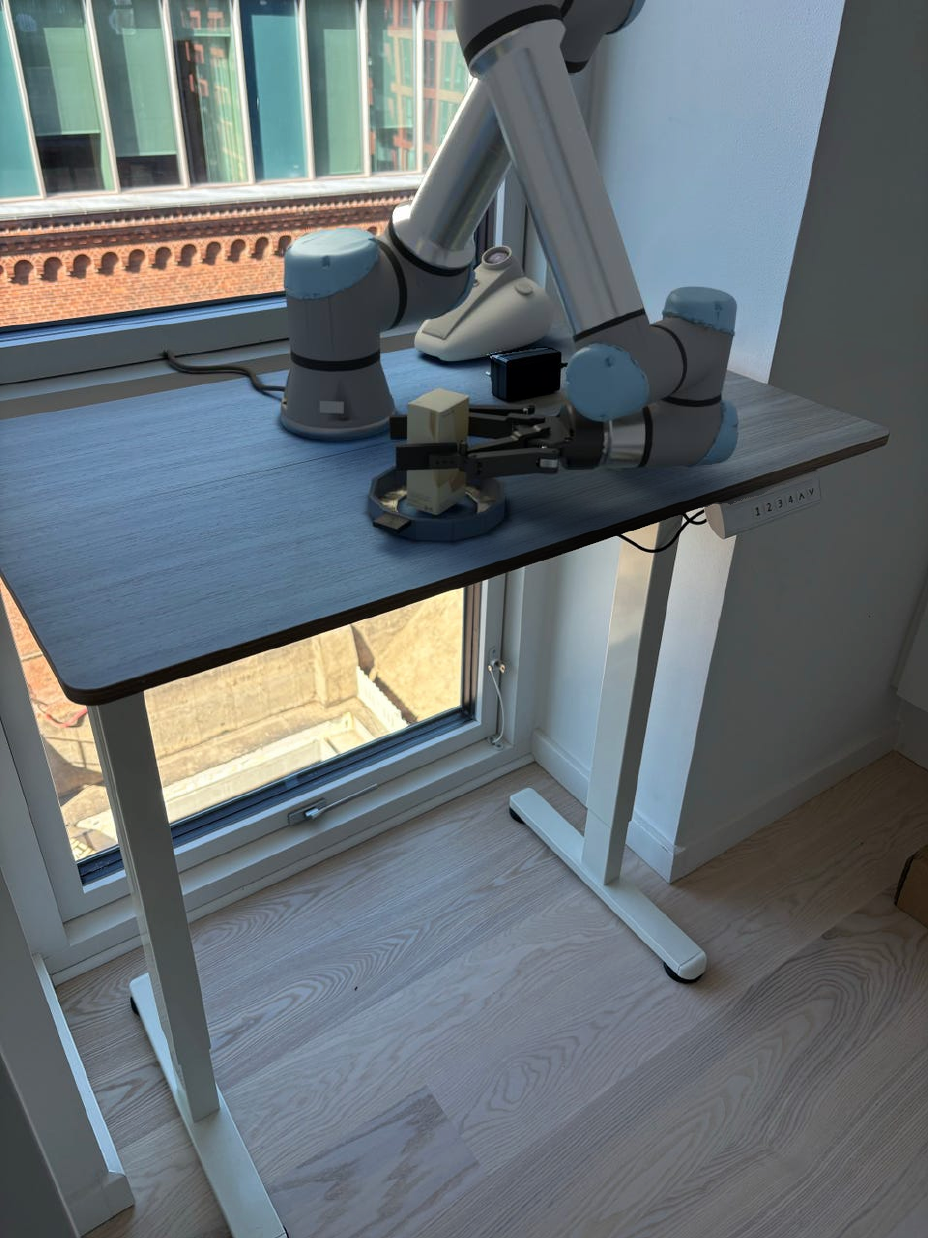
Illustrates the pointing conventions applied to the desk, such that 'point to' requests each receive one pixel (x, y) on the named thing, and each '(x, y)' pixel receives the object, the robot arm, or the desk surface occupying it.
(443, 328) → the projector
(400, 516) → the handled polygonal ring
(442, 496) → the cosmetic box
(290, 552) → the desk surface
